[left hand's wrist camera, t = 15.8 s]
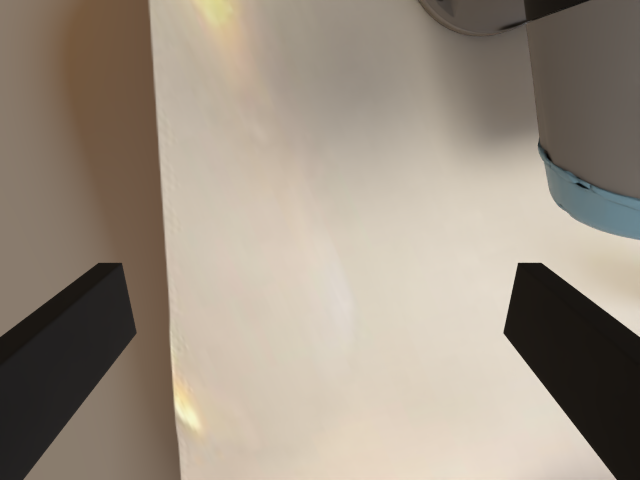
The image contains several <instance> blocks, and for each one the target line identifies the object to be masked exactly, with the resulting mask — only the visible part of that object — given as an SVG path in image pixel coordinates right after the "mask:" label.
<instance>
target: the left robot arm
mask: <svg viewBox="0 0 640 480" xmlns="http://www.w3.org/2000/svg"><path fill="white" fill-rule="evenodd" d="M419 2H420V3H421V4H422V6H423V7H424V9H425V10H426V11H427V12H428V13H429V14H430V15H431V16H432V17H433V18H434V19H435V20H436V21H437V22H439V23H440V24H442V25H443V26H445V27H447V28H448V29H451V30H453V31H455V32H458V33H461V34H466V35H471V36H488V35H494V34H499V33H503V32H506V31H509V30H512V29H514V28H517V27H519V26H521V25H523V24H525V23H526V28H527V36H528V44H529V51H530V59H531V67H532V75H533V84H534V93H535V102H536V110H537V119H538V128H539V142H538V151H539V154H540V156H541V158H542V160H543V161H544V164H545V169H546V175H547V180H548V186H549V190H550V193H551V196H552V198H553V199H554V201H555V202H556V204H557V205H558V206H559V207H560V208H562V209H563V210H565V211H566V212H567V213H569V214H570V216H571V217H573V218H574V219H576V220H577V221H579V222H581V223H583V224H586V225H588V226H590V227H592V228H595V229H598V230H601V231H604V232H607V233H610V234H614V235H618V236H622V237H627V238H632V239H637V240H640V0H586V1H585V0H419ZM577 3H578V4H577ZM574 4H575V5H574ZM569 6H570V7H569ZM566 7H567V8H566ZM563 8H564V9H563ZM558 10H559V11H558ZM555 11H556V12H555ZM552 12H553V13H552ZM550 13H551V14H550ZM547 14H548V15H547ZM544 15H545V16H544ZM542 16H543V17H542ZM539 17H540V18H539ZM531 20H532V21H531ZM524 26H525V25H524ZM521 27H522V26H521ZM135 334H136V328H135V323H134V318H133V314H132V309H131V304H130V300H129V295H128V290H127V285H126V280H125V276H124V271H123V266H122V263H98V264H97V265H95V266H94V267H93V268H91V269H90V270H89V271H87V272H86V273H85V274H83V275H82V276H81V277H79V278H78V279H77V280H75V281H74V282H73V283H71V284H70V285H69V286H67V287H66V288H65V289H64V290H62V291H61V292H59V293H58V294H57V295H56V296H54V297H53V298H52V299H50V300H49V301H48V302H46V303H45V304H44V305H42V306H41V307H40V308H38V309H37V310H36V311H34V312H33V313H32V314H30V315H29V316H28V317H26V318H25V319H24V320H22V321H21V322H20V323H18V324H17V325H16V326H15V327H13V328H12V329H11V330H9V331H8V332H7V333H5V334H4V335H2V336H1V337H0V480H23V479H24V478H25V477H26V475H27V474H28V473H29V472H30V470H31V469H32V468H33V466H34V465H35V464H36V462H37V461H38V460H39V459H40V457H41V456H42V455H43V453H44V452H45V451H46V449H47V448H48V447H49V446H50V444H51V443H52V442H53V441H54V439H55V438H56V437H57V435H58V434H59V433H60V431H61V430H62V429H63V427H64V426H65V425H66V424H67V422H68V421H69V420H70V419H71V417H72V416H73V415H74V413H75V412H76V411H77V409H78V408H79V407H80V406H81V404H82V403H83V402H84V400H85V399H86V398H87V397H88V395H89V394H90V393H91V391H92V390H93V389H94V387H95V386H96V385H97V384H98V382H99V381H100V380H101V378H102V377H103V376H104V375H105V373H106V372H107V371H108V369H109V368H110V367H111V365H112V364H113V363H114V362H115V360H116V359H117V358H118V356H119V355H120V354H121V353H122V351H123V350H124V349H125V347H126V346H127V345H128V344H129V342H130V341H131V340H132V338H133V337H134V336H135ZM504 334H505V336H506V337H507V338H508V340H509V341H510V342H511V344H512V345H513V346H514V347H515V349H516V350H517V351H518V353H519V354H520V355H521V356H522V358H523V359H524V360H525V362H526V363H527V364H528V366H529V367H530V368H531V369H532V371H533V372H534V373H535V375H536V376H537V377H538V378H539V380H540V381H541V382H542V384H543V385H544V386H545V387H546V389H547V390H548V391H549V393H550V394H551V395H552V397H553V398H554V399H555V400H556V402H557V403H558V404H559V406H560V407H561V408H562V409H563V411H564V412H565V413H566V415H567V416H568V417H569V419H570V420H571V421H572V422H573V424H574V425H575V426H576V428H577V429H578V430H579V431H580V433H581V434H582V435H583V437H584V438H585V439H586V441H587V442H588V443H589V444H590V446H591V447H592V448H593V450H594V451H595V452H596V453H597V455H598V456H599V457H600V459H601V460H602V461H603V462H604V464H605V465H606V466H607V468H608V469H609V470H610V472H611V473H612V474H613V475H614V477H615V478H616V479H617V480H640V337H639V336H638V335H636V334H635V333H634V332H632V331H631V330H630V329H628V328H627V327H626V326H624V325H623V324H622V323H620V322H619V321H618V320H616V319H615V318H614V317H612V316H611V315H610V314H608V313H607V312H606V311H604V310H603V309H602V308H600V307H599V306H598V305H596V304H595V303H594V302H592V301H591V300H590V299H588V298H587V297H586V296H584V295H583V294H582V293H581V292H579V291H578V290H577V289H575V288H574V287H573V286H571V285H570V284H569V283H567V282H566V281H565V280H563V279H562V278H561V277H559V276H558V275H557V274H555V273H554V272H553V271H551V270H550V269H549V268H547V267H546V266H545V265H543V264H542V263H518V266H517V271H516V276H515V280H514V285H513V290H512V295H511V299H510V304H509V309H508V314H507V318H506V323H505V328H504Z"/></svg>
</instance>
